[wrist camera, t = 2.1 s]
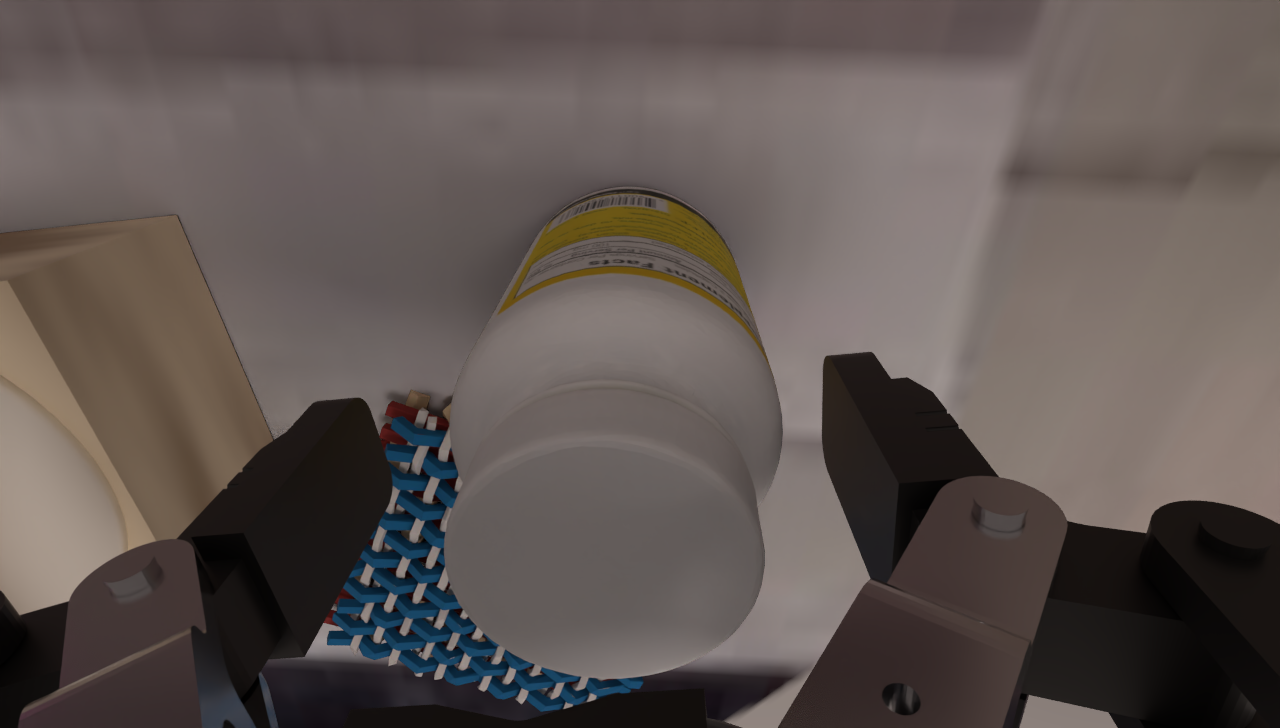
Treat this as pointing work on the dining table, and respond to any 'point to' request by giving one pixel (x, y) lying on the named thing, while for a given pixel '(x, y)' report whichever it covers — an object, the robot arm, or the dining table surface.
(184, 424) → the pedestal
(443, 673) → the woven mat
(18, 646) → the robot arm
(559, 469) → the supplement bottle
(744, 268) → the dining table surface
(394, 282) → the dining table surface
